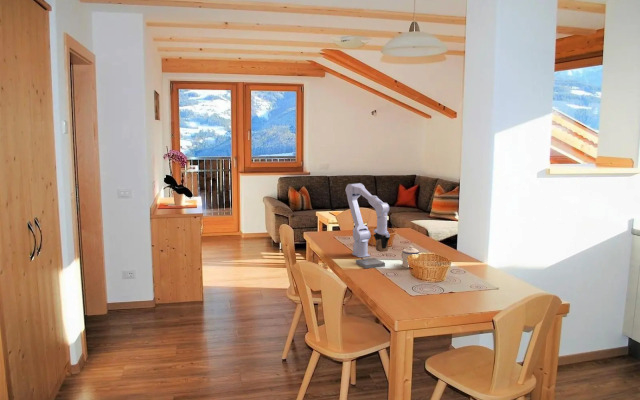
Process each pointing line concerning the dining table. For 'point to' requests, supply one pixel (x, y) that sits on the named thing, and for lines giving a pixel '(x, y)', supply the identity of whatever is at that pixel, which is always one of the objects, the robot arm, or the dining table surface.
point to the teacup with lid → (406, 253)
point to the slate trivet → (370, 263)
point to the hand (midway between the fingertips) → (381, 247)
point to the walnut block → (380, 246)
